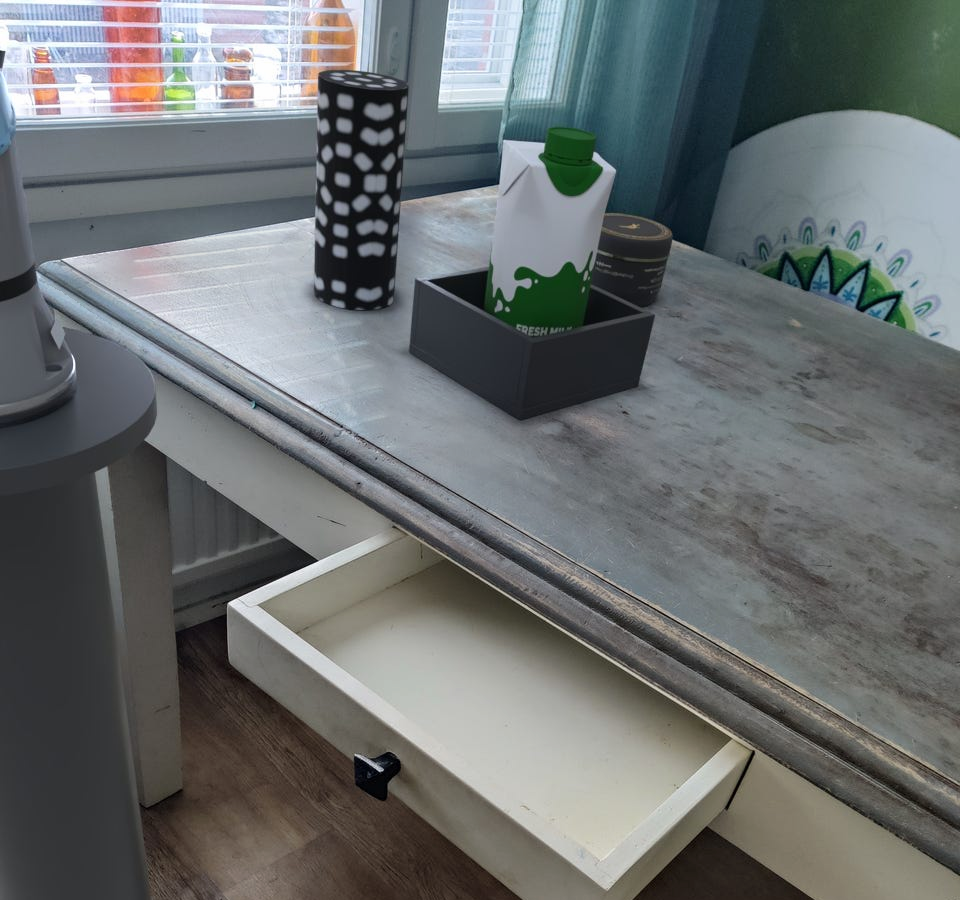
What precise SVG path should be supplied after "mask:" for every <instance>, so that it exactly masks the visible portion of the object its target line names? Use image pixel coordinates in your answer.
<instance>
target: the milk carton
mask: <svg viewBox="0 0 960 900" xmlns="http://www.w3.org/2000/svg"><path fill="white" fill-rule="evenodd" d="M596 141H597V135H596V134H594V133H592V132H589V131H587V130H583V129H579V128H575V127H567V126H566V127H565V126H552V127H548V128H547V129H546V135H545V141H544V142H537V141H536V142H535V141H522V140H520V141H519V140H509V139H503V140H502V151H501V152H502V153H501V162H500V163H501V164H500V165H501V166H500V174H499V185H498V194H497V195H498V196H497V203H496V210H495V218H494V224H493V233H492V240H491V246H490V247H491V248H490V255H489V256H490V257H489V264H488V267H489V271H488V279H487V286H486V296H485V304H484V311H485V312H486V313H488V314H490V315H492V316H494V317H496V318H498V319H499V320H501V321H503V322H505V323H507V324H509V325H511V326H512V327H514V328H516V329H518V330H520V331H522V332H524V333H525V334H527V335H529V336H531V337H532V338H533V337H538V336H542V335H547V334H551V333H556V332H560V331H565V330H569V329H574V328H578V327H582V326H583V321H584V315H585V310H586V305H587V300H588V295H589V290H590V285H591V280H592V275H593V270H594V264H595V259H596V254H597V249H598V244H599V239H600V234H601V228H602V223H603V218H604V213H606V211H607V206H608V202H609V198H610V195H611V191H612V188H613V185H614V181H615V178H616V174H617V169H615V167H614V166H612V165H611V164H610V163H608V162H607V161H606V160H605V159H603V158H602V157H601V155H600V154H599V153H598V152H596V151H595V148H596V143H597V142H596Z"/></svg>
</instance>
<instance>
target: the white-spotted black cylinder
mask: <svg viewBox="0 0 960 900" xmlns="http://www.w3.org/2000/svg"><path fill="white" fill-rule="evenodd" d="M409 88H410V84H409V83H408V82H406V81H405V80H402V79H400V78H398V77H393V76H390V75H387V74H382V73H377V72H370V71H365V70H354V69H327V70H323V71H319V72H318V74H317V103H316V104H317V106H316V107H317V108H316V109H317V110H316V121H317V122H316V154H315V155H316V157H315V158H316V159H315V161H316V162H315V163H316V165H315V207H314V208H315V210H314V211H315V213H314V261H313V262H314V264H313V265H314V267H313V268H314V269H313V271H314V272H313V294H314V296H315V297H316V298H317V299H318V300H319V301H321V302H323V303H325V304H328V305H330V306H333V307H336V308H340V309H345V310H346V309H347V310H353V311H357V310H358V311H370V310H371V311H372V310H379V309H382V308H386V307H388V306H390V305H392V304H393V302H394V301H395V292H396V291H395V289H396V287H395V286H396V274H397V262H398V261H397V259H398V249H399V248H398V247H399V246H398V245H399V231H400V219H401V218H400V216H401V202H402V190H403V175H404V160H405V145H406V132H407V118H408V117H407V116H408V103H409V92H410V91H409V90H410V89H409Z"/></svg>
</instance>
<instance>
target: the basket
mask: <svg viewBox="0 0 960 900" xmlns="http://www.w3.org/2000/svg"><path fill="white" fill-rule="evenodd" d="M488 271H489V266H485V267H479V268H473V269H472V268H471V269H467V270H459V271H454V272H453V271H452V272H448V273H442V274H436V275H429V276H422V277H417V278H415V279H414V288H413V300H412V301H413V302H412V309H411V310H412V311H411V322H410V323H411V324H410V335H409V350H408V353H409V354H411V355H413V356H414V357H416V358H418V359H419V360H421V361H423V362H424V363H426V364H427V365H429V366H430V367H432V368H433V369H435V370H437V371H439V372H440V373H442V374H444V375H445V376H446V377H448V378H450V379H452V380H453V381H455V382H457V383H458V384H460V385H462V386H463V387H464V388H466V389H468V390H470V391H471V392H472V393H474V394H476V395H478V396H480V397H481V398H483V399H484V400H486V401H488V402H490V403H491V404H493V405H494V406H496V407H497V408H499V409H500V410H502V411H504V412H506V413H507V414H509V415H511V416H512V417H514V418H515V419H517V420H519V421H521V420H526V419H528V418H532V417H536V416H539V415H542V414H546V413H550V412H553V411H557V410H560V409H564V408H567V407H571V406H574V405H577V404H581V403H585V402H588V401H591V400H594V399H599V398H602V397H606V396H609V395H612V394H616V393H620V392H623V391H626V390H631V389H634V388H636V387H639V385H640V381H641V376H642V373H643V372H642V371H643V368H644V363H645V359H646V357H647V352H648V347H649V342H650V338H651V334H652V330H653V325H654V322H655V318H656V314H655V313H653V312H651V311H649V310H646V309H644V308H643V307H638V306H636V305H634V304H632V303H630V302H628V301H626V300H623V299H621V298H619V297H617V296H615V295H613V294H611V293H609V292H607V291H605V290H602V289H600V288H598V287H596V286H594V285H592V284H591V285H590V290H589V295H588V300H587V305H586V310H585V315H584V321H583V326H582V327H578V328H574V329H569V330H565V331H560V332H556V333H551V334H547V335H542V336H538V337H533V338H532V337H531V336H529V335H527V334H525V333H524V332H522V331H520V330H518V329H516V328H514V327H512V326H511V325H509V324H507V323H505V322H503V321H501V320H499V319H498V318H496V317H494V316H492V315H490V314H488V313H486V312H485V311H484V304H485V296H486V286H487V279H488Z"/></svg>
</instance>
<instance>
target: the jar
mask: <svg viewBox="0 0 960 900" xmlns="http://www.w3.org/2000/svg"><path fill="white" fill-rule="evenodd" d="M673 237H674V235H673V232H672V231H671V229H670V228H668V227H667V226H665V225H664V224H662V223H660V222H658V221H656V220H653V219H649V218H646V217H643V216H638V215H633V214H626V213H617V212H605V213H604V218H603V223H602V228H601V234H600V239H599V244H598V249H597V254H596V259H595V264H594V270H593V275H592V280H591V284H592V285H594V286H596V287H598V288H600V289H602V290H605V291H607V292H609V293H611V294H613V295H615V296H617V297H619V298H621V299H623V300H626V301H628V302H630V303H632V304H634V305H636V306H638V307H640V308H643V307H646V306H649V305H650V304H651V303H652V302H653V301H655V299H656V298H657V296H658V294H659V292H660V290H661V288H662V284H663V281H664V277H665V272H666V269H667V263H668V259H669V258H670V256H671V252H672V251H671V249H672V244H673Z"/></svg>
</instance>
